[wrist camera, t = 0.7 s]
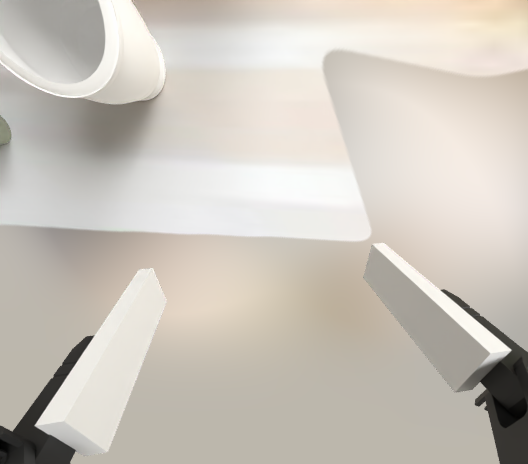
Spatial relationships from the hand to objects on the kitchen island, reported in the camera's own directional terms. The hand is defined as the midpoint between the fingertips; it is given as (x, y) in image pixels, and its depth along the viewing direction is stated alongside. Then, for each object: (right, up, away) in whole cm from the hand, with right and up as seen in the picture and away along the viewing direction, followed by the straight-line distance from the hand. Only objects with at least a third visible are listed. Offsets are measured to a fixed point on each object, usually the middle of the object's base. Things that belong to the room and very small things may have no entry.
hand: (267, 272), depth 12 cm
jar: (-18, +26, +15) cm, 35 cm away
